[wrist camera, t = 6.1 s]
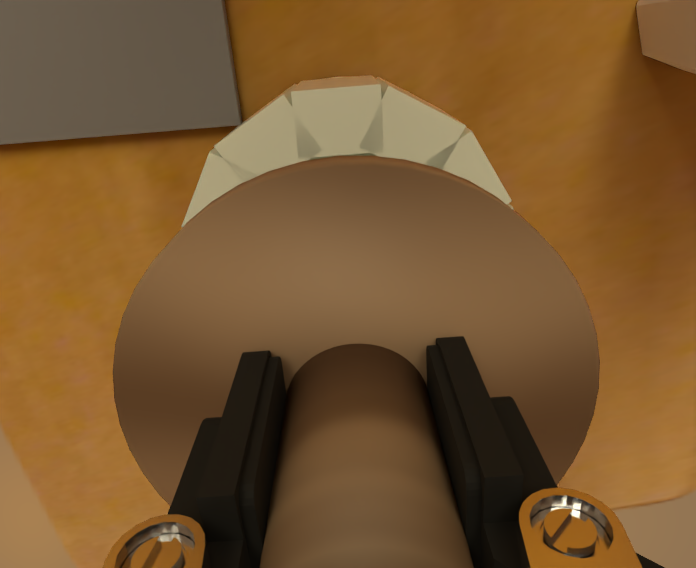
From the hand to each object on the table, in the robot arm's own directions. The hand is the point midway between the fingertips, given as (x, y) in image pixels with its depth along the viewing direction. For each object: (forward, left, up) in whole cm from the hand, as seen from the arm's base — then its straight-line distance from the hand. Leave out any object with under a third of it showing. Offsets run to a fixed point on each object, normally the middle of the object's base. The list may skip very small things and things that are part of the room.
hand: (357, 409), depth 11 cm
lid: (0, 0, -1) cm, 1 cm away
